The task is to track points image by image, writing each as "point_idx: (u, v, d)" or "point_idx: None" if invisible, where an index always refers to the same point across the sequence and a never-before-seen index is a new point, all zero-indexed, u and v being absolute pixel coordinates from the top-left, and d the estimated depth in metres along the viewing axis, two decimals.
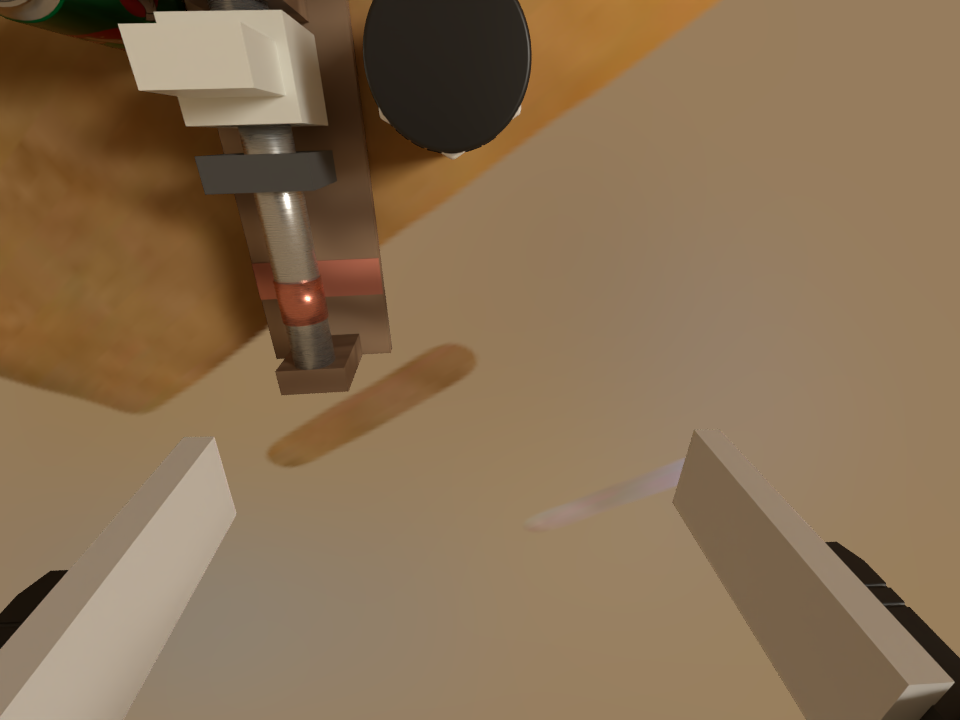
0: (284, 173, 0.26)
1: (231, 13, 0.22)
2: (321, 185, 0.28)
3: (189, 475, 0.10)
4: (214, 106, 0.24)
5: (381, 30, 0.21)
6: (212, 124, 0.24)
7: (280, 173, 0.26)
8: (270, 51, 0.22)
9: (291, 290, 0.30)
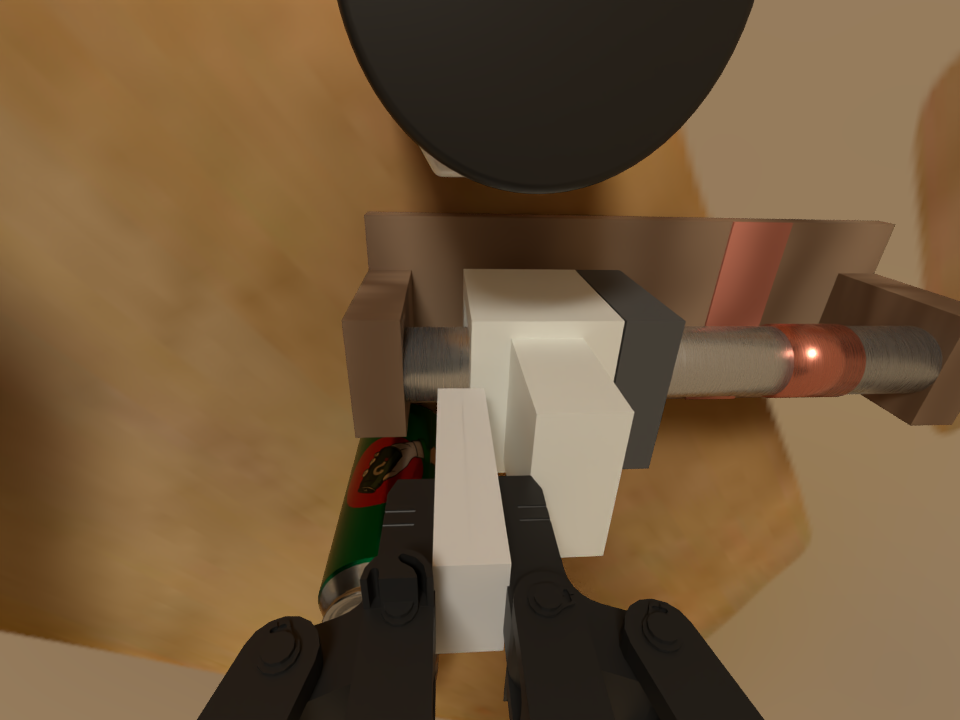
0: (647, 362, 0.15)
1: None
2: (658, 302, 0.16)
3: None
4: None
5: (482, 142, 0.09)
6: None
7: (647, 367, 0.15)
8: (535, 353, 0.14)
9: (800, 377, 0.18)
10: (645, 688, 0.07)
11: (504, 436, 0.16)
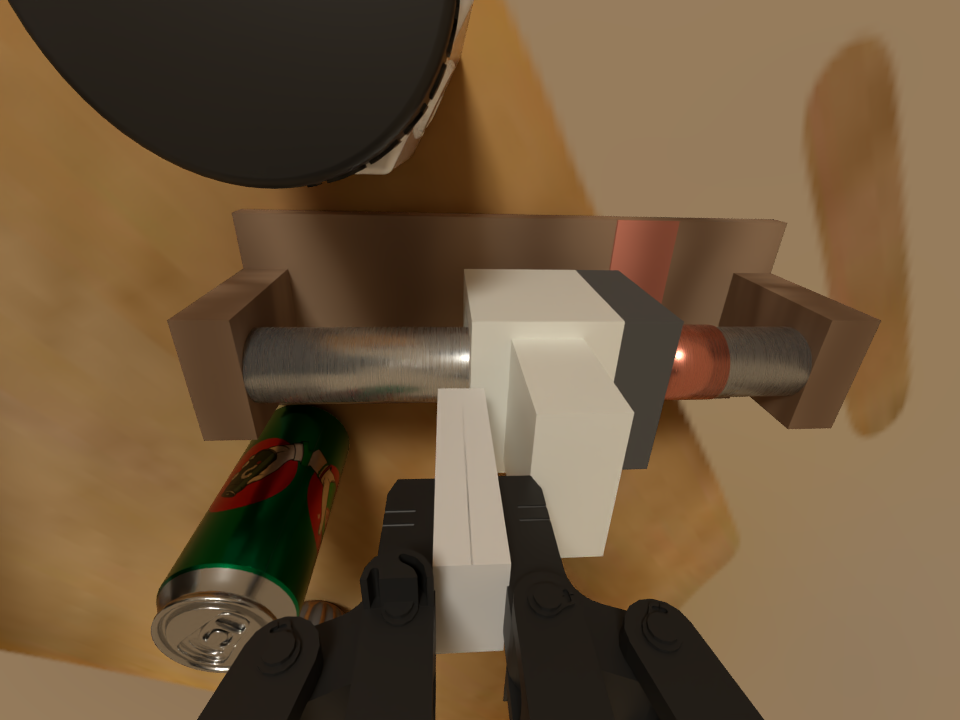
0: (645, 362, 0.15)
1: None
2: (657, 303, 0.16)
3: None
4: None
5: (198, 134, 0.09)
6: None
7: (645, 367, 0.15)
8: (535, 353, 0.14)
9: None
10: (645, 688, 0.07)
11: (504, 436, 0.16)
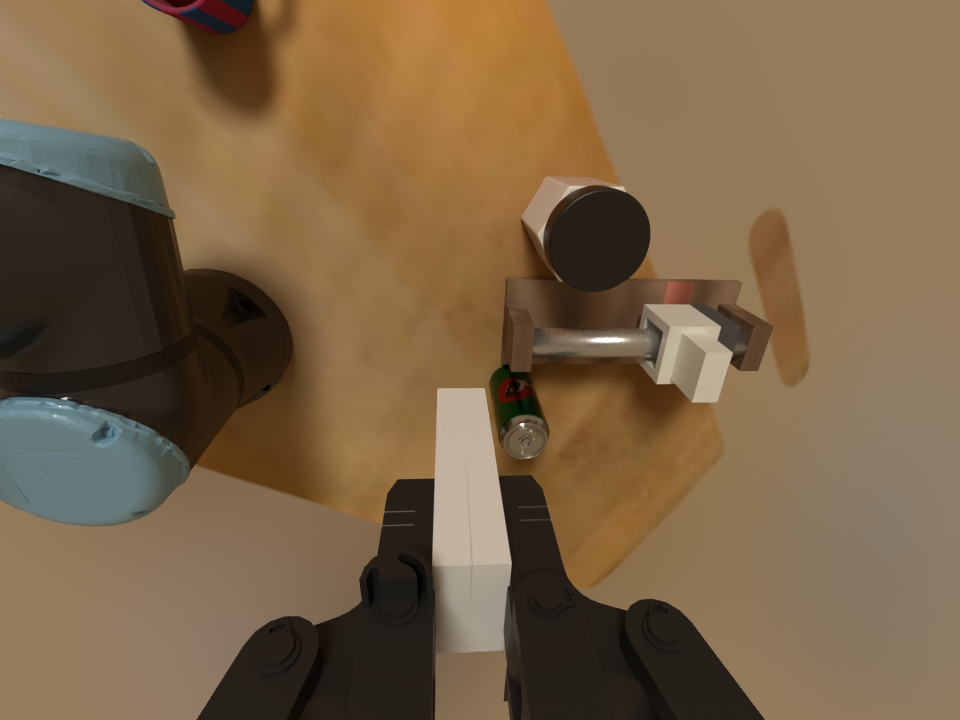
0: (727, 341, 0.43)
1: (665, 350, 0.43)
2: (729, 319, 0.44)
3: None
4: None
5: (579, 280, 0.36)
6: None
7: (726, 343, 0.43)
8: (693, 337, 0.41)
9: None
10: (645, 688, 0.07)
11: (672, 369, 0.44)
